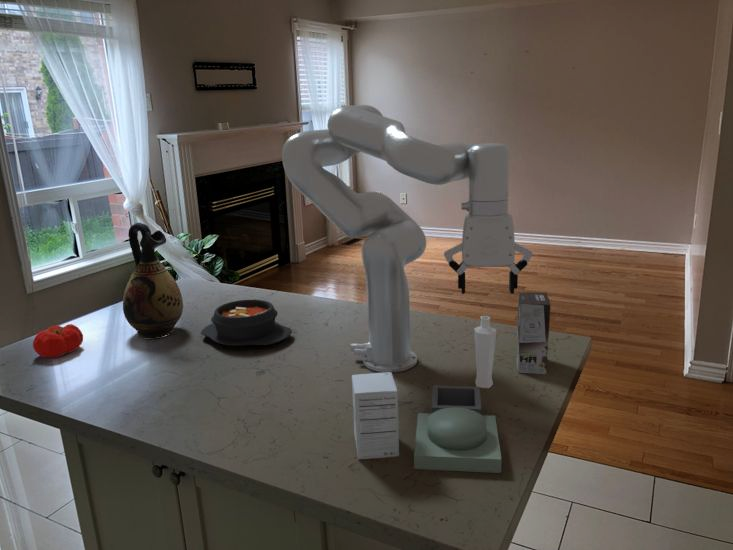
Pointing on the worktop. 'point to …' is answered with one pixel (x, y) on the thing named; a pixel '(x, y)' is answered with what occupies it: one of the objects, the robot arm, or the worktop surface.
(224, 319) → the casserole
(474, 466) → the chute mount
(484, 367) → the perfume bottle
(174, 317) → the ceramic jug
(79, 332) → the tomato
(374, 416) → the supplement box
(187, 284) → the worktop surface
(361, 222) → the robot arm
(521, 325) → the coffee box
